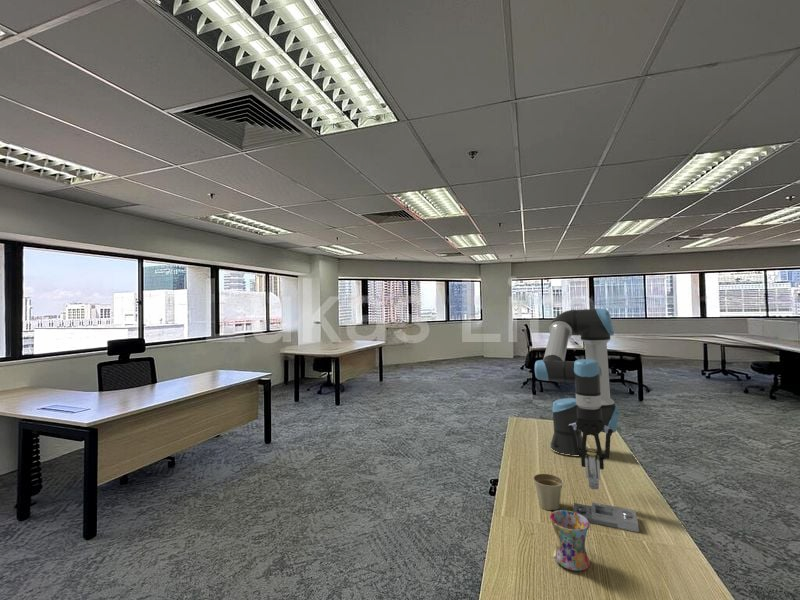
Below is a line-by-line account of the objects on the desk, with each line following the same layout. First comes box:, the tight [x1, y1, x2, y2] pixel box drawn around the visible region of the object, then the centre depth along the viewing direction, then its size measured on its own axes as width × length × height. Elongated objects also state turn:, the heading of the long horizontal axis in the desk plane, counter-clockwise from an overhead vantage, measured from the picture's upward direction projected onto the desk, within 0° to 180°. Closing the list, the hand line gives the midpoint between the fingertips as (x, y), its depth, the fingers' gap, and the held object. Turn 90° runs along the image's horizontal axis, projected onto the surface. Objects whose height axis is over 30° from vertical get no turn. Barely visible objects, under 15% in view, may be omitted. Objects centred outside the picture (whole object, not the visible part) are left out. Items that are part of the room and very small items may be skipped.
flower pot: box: [532, 473, 564, 511], centre depth 120 cm, size 9×9×9 cm
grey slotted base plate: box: [572, 502, 640, 533], centre depth 111 cm, size 8×17×3 cm, turn 62°
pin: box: [585, 448, 600, 490], centre depth 121 cm, size 4×4×12 cm
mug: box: [549, 509, 591, 572], centre depth 94 cm, size 12×9×11 cm
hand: (593, 477), depth 120 cm, fingers closed on pin, 3 cm apart
